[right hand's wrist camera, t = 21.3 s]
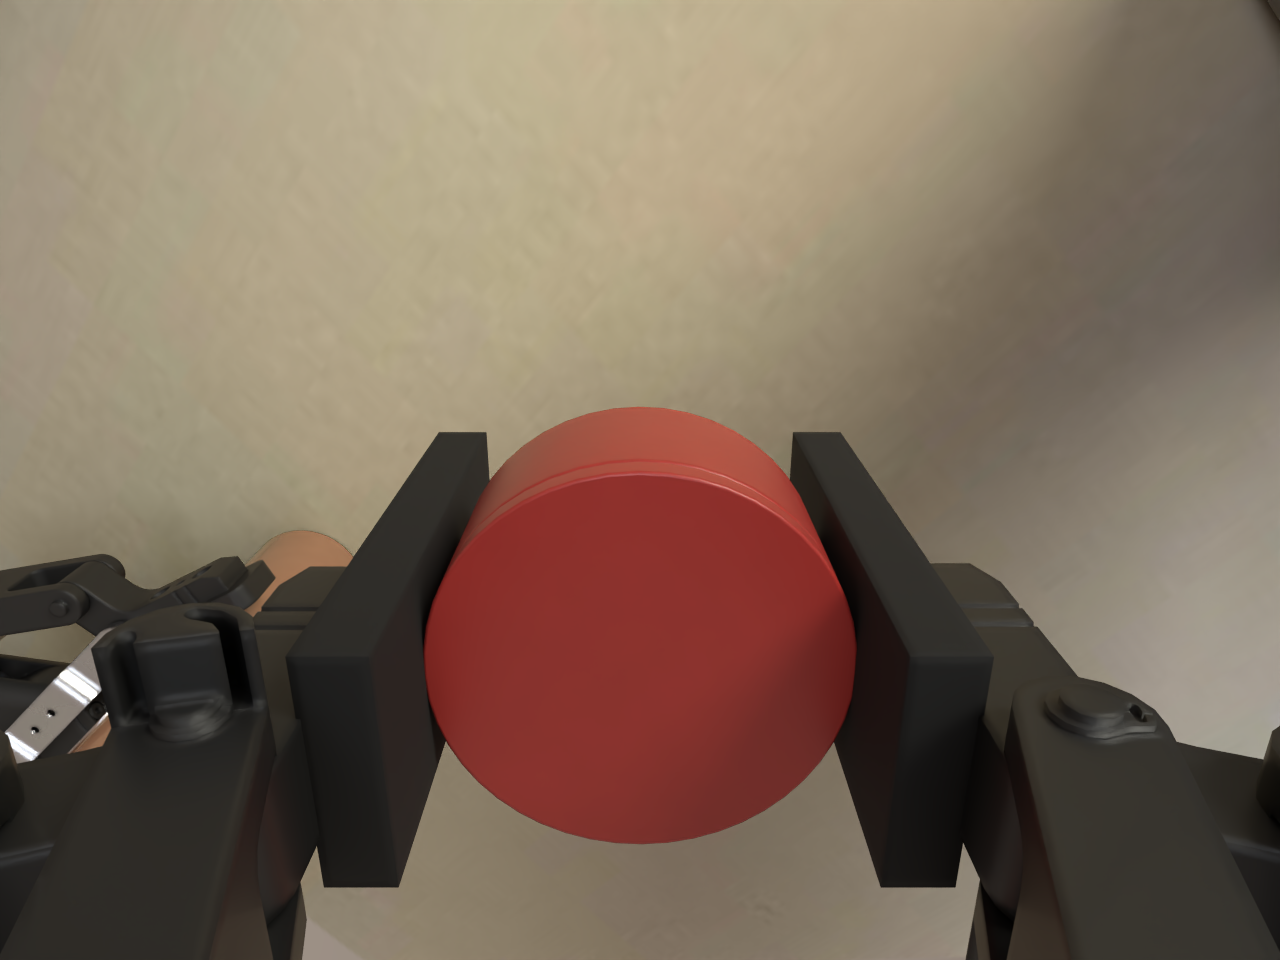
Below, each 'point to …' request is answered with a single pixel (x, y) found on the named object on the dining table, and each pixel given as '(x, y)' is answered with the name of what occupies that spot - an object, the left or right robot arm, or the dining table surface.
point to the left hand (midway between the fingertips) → (304, 644)
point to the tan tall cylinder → (284, 561)
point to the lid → (640, 631)
